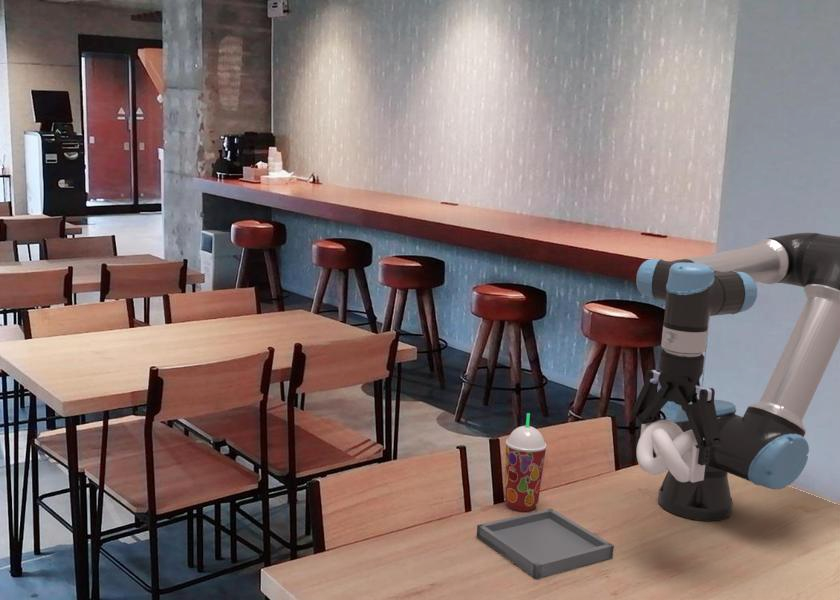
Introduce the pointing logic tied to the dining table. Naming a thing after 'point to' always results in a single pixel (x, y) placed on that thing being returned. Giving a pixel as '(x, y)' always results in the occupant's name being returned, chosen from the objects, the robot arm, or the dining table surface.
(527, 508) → the smoothie
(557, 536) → the tray
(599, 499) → the dining table surface
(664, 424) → the white trefoil knot
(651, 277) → the robot arm
